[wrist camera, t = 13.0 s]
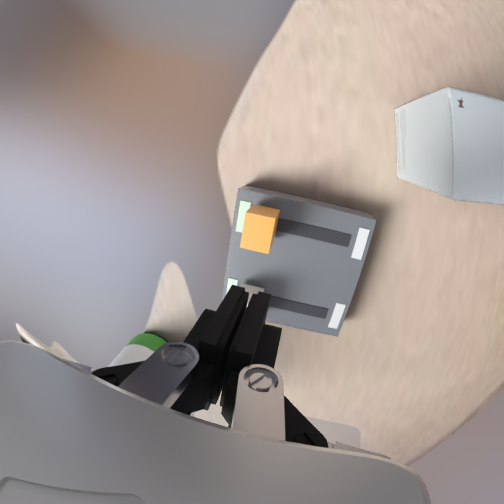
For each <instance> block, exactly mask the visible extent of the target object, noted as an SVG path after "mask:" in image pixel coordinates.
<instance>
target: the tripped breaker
mask: <svg viewBox="0 0 504 504" xmlns="http://www.w3.org/2000/svg"><path fill="white" fill-rule="evenodd" d="M279 213H280V210H279V209H275V208H270V207H265V206H260V205H256V204H254V205H253V206H252V207H250V208H249V209H248V210H247V211H246V213H245V219H244V225H243V231H242V237H241V243H240V248H244V249H249V250H253V251H257V252H262V253H266V254H269V252H270V249H271V247H272V244H273V242H274V238H275V233H276V228H277V223H278V218H279Z"/></svg>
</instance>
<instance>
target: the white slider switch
mask: <svg viewBox="0 0 504 504" xmlns="http://www.w3.org/2000/svg"><path fill="white" fill-rule="evenodd" d="M240 287H244V288H245V291H246V292H249V297H248V302H247V306H248V304H249V301H250V299H251V296H252V294H253V293H254V294H258V292H259V291H260V292H264V288H260V287H256V286H251V285H247V284H243V283H241V284H240Z"/></svg>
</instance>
